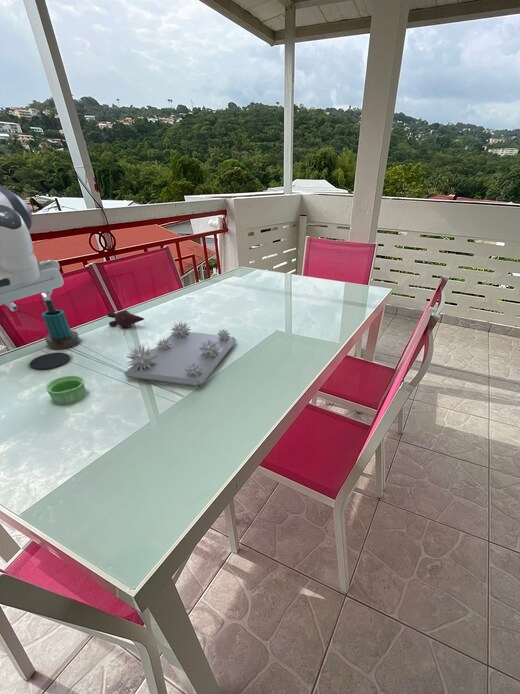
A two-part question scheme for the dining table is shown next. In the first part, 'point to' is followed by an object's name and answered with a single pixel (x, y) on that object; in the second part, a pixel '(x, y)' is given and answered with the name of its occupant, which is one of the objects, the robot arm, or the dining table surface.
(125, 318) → the icecream
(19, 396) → the dining table surface
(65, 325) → the teal ribbed hollow cylinder
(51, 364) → the coaster
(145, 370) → the decorative tray
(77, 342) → the holder
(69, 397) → the ramekin
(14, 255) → the robot arm
